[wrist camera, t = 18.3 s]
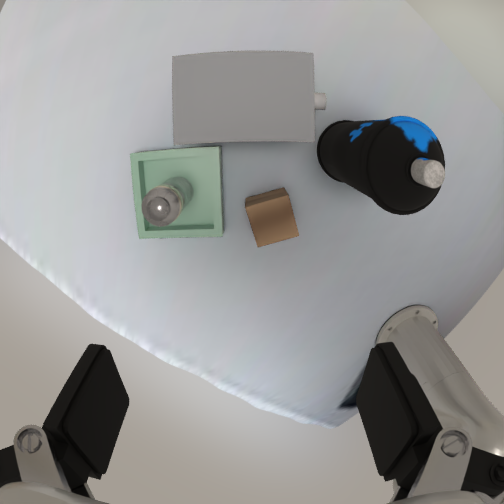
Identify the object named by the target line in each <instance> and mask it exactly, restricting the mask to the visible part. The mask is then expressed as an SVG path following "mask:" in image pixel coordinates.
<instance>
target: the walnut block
mask: <svg viewBox="0 0 504 504" xmlns="http://www.w3.org/2000/svg"><path fill="white" fill-rule="evenodd" d="M245 208H246V212H247V215H248V218H249V221H250V224H251V227H252V231H253V234H254V237H255V240H256V243H257V246H258V247H261V246H265V245H268V244H272V243H275V242H279V241H282V240H286V239H290V238H293V237H297V236H299V233H298V229H297V225H296V221H295V218H294V214H293V210H292V206H291V203H290V199H289V195H288V193H287V192H286V190H285V189H284V187H283V188H279V189H276V190H272V191H269V192H265V193H262V194H258V195H255V196H251V197H248V198H246V202H245Z"/></svg>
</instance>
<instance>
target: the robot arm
mask: <svg viewBox="0 0 504 504" xmlns="http://www.w3.org/2000/svg"><path fill="white" fill-rule="evenodd" d="M437 329H438V319H437V317H436V315H435V313H434V312H433V311H432V310H431V309H430V308H428V307H426V306H422V305H416V306H411V307H408V308H405V309H403V310H401V311H399V312H398V313H396V314H395V315H394V316H392V317H391V318H390V319H389V320H388V321H387V322H386V323H385V325H384V326H383V327H382V329H381V330H380V332H379V334H378V337H377V340H376V346H375V348H372V349H371V351H370V355H369V358H368V362H367V365H366V368H365V372H364V375H363V378H362V381H361V384H360V387H359V390H358V393H357V397H356V403H357V407H358V410H359V413H360V416H361V419H362V422H363V425H364V428H365V431H366V434H367V438H368V441H369V444H370V447H371V450H372V453H373V457H374V460H375V464H376V467H377V470H378V473H379V475H380V476H384V480H385V481H389V480H392V479H393V489H394V495H393V497H392V499H391V500H390V502H389V503H387V504H504V416H503V415H502V414H501V413H500V412H499V411H498V410H497V409H496V408H495V407H494V405H493V404H492V403H491V402H490V401H489V400H488V398H487V397H486V396H485V395H484V393H483V392H482V391H481V389H480V388H479V387H478V385H477V384H476V382H475V381H474V380H473V378H472V377H471V375H470V374H469V373H468V371H467V370H466V369H465V367H464V366H463V364H462V363H461V361H460V360H459V359H458V357H457V356H456V355H455V353H454V352H453V351H452V349H451V348H450V347H449V346H448V344H447V343H446V341H445V340H444V339H443V337H442V336H441V335H440V334H439V332H438V331H437ZM128 406H129V397H128V394H127V392H126V390H125V387H124V385H123V382H122V380H121V378H120V375H119V372H118V370H117V367H116V365H115V362H114V360H113V357H112V354H111V352H110V350H108V349H107V348H106V346H104V345H97V344H90V345H89V346H88V347H87V349H86V350H85V352H84V353H83V355H82V357H81V358H80V360H79V362H78V363H77V365H76V366H75V368H74V370H73V371H72V373H71V375H70V377H69V378H68V380H67V382H66V384H65V385H64V387H63V389H62V390H61V392H60V394H59V396H58V397H57V399H56V401H55V403H54V405H53V407H52V408H51V410H50V412H49V414H48V416H47V418H46V420H45V422H44V423H43V424H44V425H43V427H42V428H41V427H39V426H36V425H27V426H25V427H23V428H21V429H20V430H19V431H18V432H17V434H16V435H15V437H14V445H12V446H10V447H7V448H5V449H2V450H0V504H108V503H105V502H101V501H97V500H95V498H94V496H93V495H92V492H91V490H90V488H89V486H88V484H87V480H88V477H92V478H96V479H99V480H100V479H101V476H102V474H105V473H106V471H107V468H108V465H109V462H110V459H111V456H112V453H113V450H114V447H115V443H116V441H117V437H118V435H119V432H120V429H121V426H122V423H123V420H124V417H125V414H126V412H127V408H128Z"/></svg>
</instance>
